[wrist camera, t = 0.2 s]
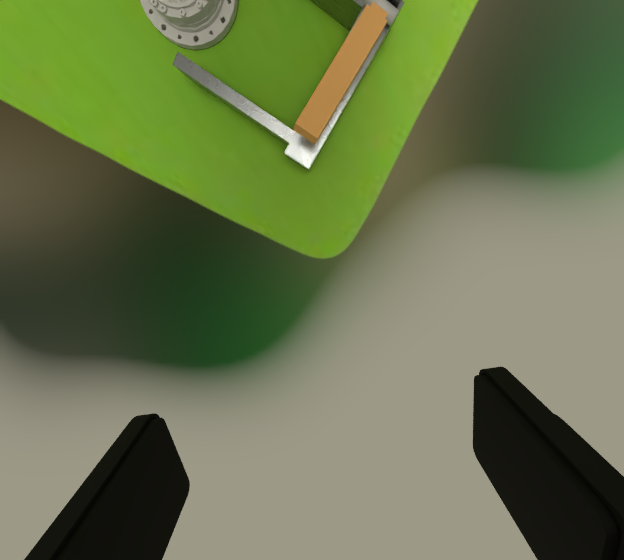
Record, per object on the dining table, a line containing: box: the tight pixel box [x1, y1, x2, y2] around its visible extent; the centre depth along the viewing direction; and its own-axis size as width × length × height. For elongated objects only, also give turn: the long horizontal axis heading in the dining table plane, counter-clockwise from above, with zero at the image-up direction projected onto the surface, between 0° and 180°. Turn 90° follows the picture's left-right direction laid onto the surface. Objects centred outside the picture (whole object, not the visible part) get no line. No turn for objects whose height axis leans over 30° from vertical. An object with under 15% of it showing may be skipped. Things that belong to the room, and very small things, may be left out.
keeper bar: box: [294, 0, 399, 145], centre depth 25 cm, size 14×3×1 cm, turn 147°
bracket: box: [173, 0, 404, 171], centre depth 29 cm, size 17×16×7 cm
